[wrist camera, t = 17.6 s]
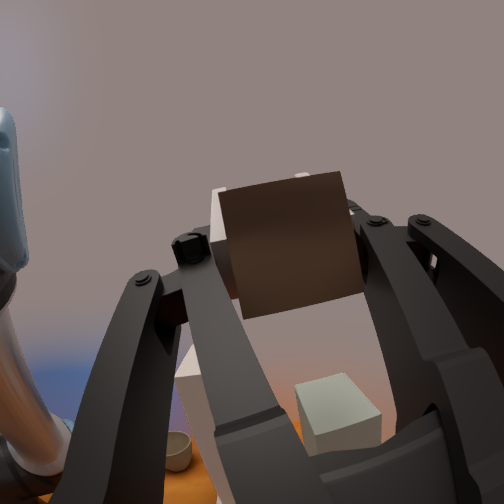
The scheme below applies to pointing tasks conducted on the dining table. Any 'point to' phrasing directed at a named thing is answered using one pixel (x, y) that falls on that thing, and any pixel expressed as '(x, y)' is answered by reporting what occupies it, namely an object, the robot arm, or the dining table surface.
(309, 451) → the post
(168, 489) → the dining table surface
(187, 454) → the beige round bowl
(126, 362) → the robot arm
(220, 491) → the tall stand
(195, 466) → the dining table surface
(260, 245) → the walnut beam
